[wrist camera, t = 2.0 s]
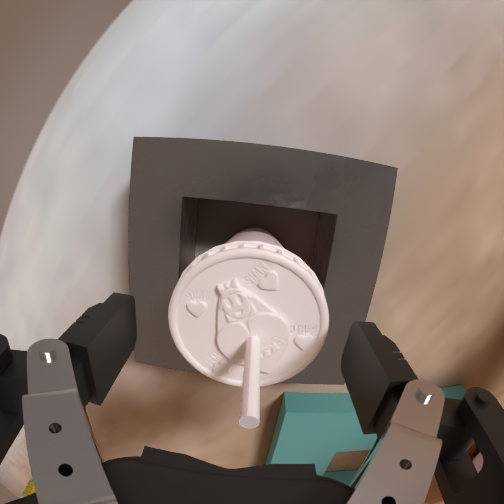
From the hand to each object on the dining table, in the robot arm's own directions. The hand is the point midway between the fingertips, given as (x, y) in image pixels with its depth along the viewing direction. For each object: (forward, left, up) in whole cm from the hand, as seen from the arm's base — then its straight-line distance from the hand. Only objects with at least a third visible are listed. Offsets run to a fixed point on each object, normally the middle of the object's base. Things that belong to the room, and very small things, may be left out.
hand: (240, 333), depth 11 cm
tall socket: (0, 0, -10) cm, 10 cm away
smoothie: (0, 0, -11) cm, 11 cm away
